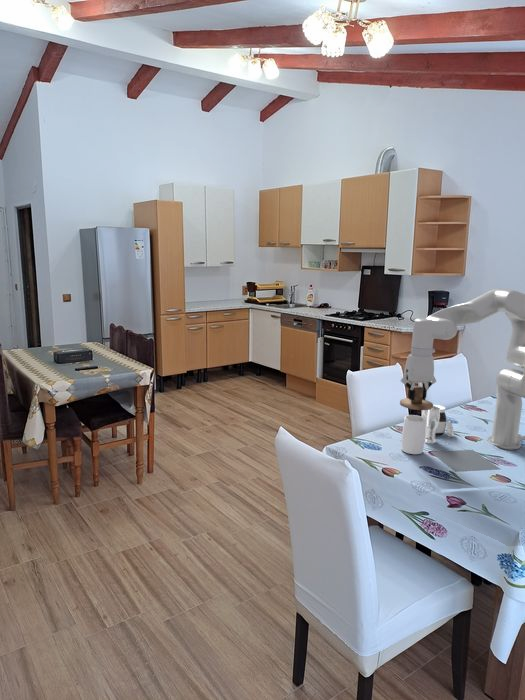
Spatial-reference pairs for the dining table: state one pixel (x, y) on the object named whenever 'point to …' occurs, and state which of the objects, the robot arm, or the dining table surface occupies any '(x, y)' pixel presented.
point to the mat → (464, 460)
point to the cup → (413, 434)
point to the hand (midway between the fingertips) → (416, 398)
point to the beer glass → (431, 423)
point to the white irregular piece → (444, 424)
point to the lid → (417, 401)
